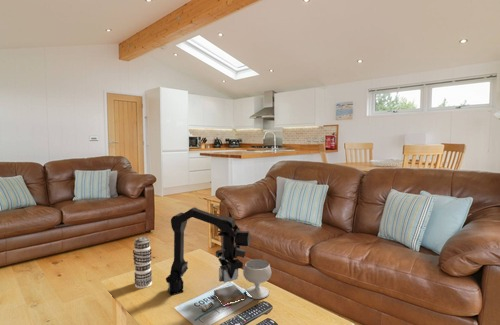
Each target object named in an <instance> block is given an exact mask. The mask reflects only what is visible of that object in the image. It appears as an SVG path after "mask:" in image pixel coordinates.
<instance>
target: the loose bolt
mask: <svg viewBox="0 0 500 325" xmlns="http://www.w3.org/2000/svg"><path fill="white" fill-rule="evenodd" d="M213 304H214V303H213V302H212V301H210V302H209V303H207V304H206V305H205V304H203V305H201V307H200V310H201V311H202V312H203V311H205V312H206V311H207V310H208V309H210V308H211V307H212V306H213ZM211 305H212V306H211ZM210 306H211V307H210ZM209 307H210V308H209Z"/></svg>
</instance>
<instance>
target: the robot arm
mask: <svg viewBox="0 0 500 325" xmlns="http://www.w3.org/2000/svg"><path fill="white" fill-rule="evenodd" d="M191 218H194V219H196V220H199V221H202V222H205V223H207V224H210V225H213V226H215V227H216V228H217V229H219V230H220V232H219V233H218V234H217V236H219V237H221V239H222V241H221V242H222V245H221V246H220V249H218V250H216V251H215V257H216V258H217V259H218V262H219V264H220V266H223V265H227V264H228V266H226V268H227V271H228V274H229V277H230V279H232V278H233V275H234V272H235V269H238V270H240V269H242V268H243V269H244V263H243V261H242V260H240V259H239V258H242V259H243V258H245V256H246V253H247V251H246V250H245V249H243V248H241V247H250V245H251V235H250V231H241V229H240V228H239V225H237V222H236V220H235V219H234V218H233V217H231V216H226V215H225V216H223V215H222V216H221V215H216V214H213V213H210V212H207V211H205V210H202V209H200V208H199V209H198V208H197V207H192V208H190V209H188V210H187V211H186V212H185V211H184V212H179V213H177V214H175V215H173V216H172V217H171V219H170V226H171V229H172V232H173V237H174V238H173V240H174V241H173V262H172V264H171V267H170V274H169V275H168V276H167V277H166V278H165V281H166V283H167V284H168V285H167V286H168V287H167V291H168V293H169V295H170V296H173V295H176V294H182V293H183V292H184V280H183V278H182V277H183V276H184V274H185V273H186V272H188V271H187V270H188V269H189V268H188V264H189V263H188V261H186V260H185V258H184V256H185V253H184V251H185V250H184V249H185V230H186V227H187V224H188V220H190V219H191ZM238 257H239V258H238Z"/></svg>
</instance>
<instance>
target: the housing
mask: <svg viewBox="0 0 500 325" xmlns="http://www.w3.org/2000/svg"><path fill="white" fill-rule="evenodd" d="M226 266H228V264H227V265H223V266H221V265H220V266H219V268H218V282H223V283H228V282H232V281H235V280H238V278H239V269H235V272H234V275H233V278H232V279H230V277H229V274H228V271H227V268H226Z"/></svg>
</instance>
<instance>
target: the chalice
mask: <svg viewBox="0 0 500 325" xmlns="http://www.w3.org/2000/svg"><path fill="white" fill-rule="evenodd" d="M242 272H243V273H242V276H243V277H244V279H245V280H246V281H248V282H249V283H252V284H254V285H252V286H249V287H247V288H246V289H245V291H247V292H248V293H249V294H250V295H251V296H252V298H251V299H254V300H261V299H265V298H267V297H268V296H269V295H270V291H269V289H268V288H267V287H264V286H261V284H263V283H265V282H267V281H269V279H270V278H271V277H272V269H271V264H270V262H268V261H267V260H264V259H261V258H259V259H258V258H255V259H254V258H253V259H250V260H247V261H246V262H245V264H244V265H243V271H242Z"/></svg>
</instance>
